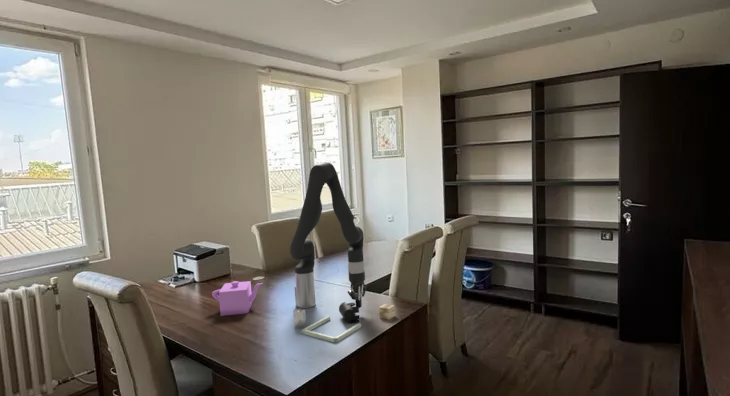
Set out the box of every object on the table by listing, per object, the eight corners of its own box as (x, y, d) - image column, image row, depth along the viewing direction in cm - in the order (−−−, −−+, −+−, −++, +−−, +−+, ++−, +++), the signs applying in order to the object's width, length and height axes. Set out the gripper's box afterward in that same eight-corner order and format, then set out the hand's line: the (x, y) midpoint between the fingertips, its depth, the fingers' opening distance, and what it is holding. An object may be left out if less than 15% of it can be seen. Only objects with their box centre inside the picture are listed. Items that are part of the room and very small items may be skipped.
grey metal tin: (292, 327, 174) (291, 311, 173) (300, 323, 178) (299, 308, 177) (300, 329, 171) (299, 313, 170) (308, 325, 175) (307, 309, 174)
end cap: (339, 317, 183) (338, 302, 182) (354, 314, 185) (353, 300, 184) (344, 325, 173) (343, 310, 173) (360, 322, 175) (359, 307, 175)
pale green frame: (301, 333, 167) (301, 329, 167) (328, 319, 181) (328, 316, 181) (335, 342, 156) (335, 339, 156) (361, 327, 170) (361, 323, 170)
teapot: (263, 311, 195) (261, 283, 194) (210, 317, 191) (207, 288, 190) (266, 301, 210) (264, 275, 208) (216, 306, 206) (214, 279, 205)
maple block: (379, 317, 180) (379, 307, 179) (385, 314, 184) (384, 303, 183) (389, 319, 177) (388, 308, 176) (394, 316, 181) (394, 305, 181)
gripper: (358, 266, 190) (360, 301, 191) (341, 273, 179) (343, 310, 180) (371, 267, 186) (373, 303, 187) (354, 275, 175) (357, 313, 176)
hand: (358, 307), depth 184 cm, fingers closed
